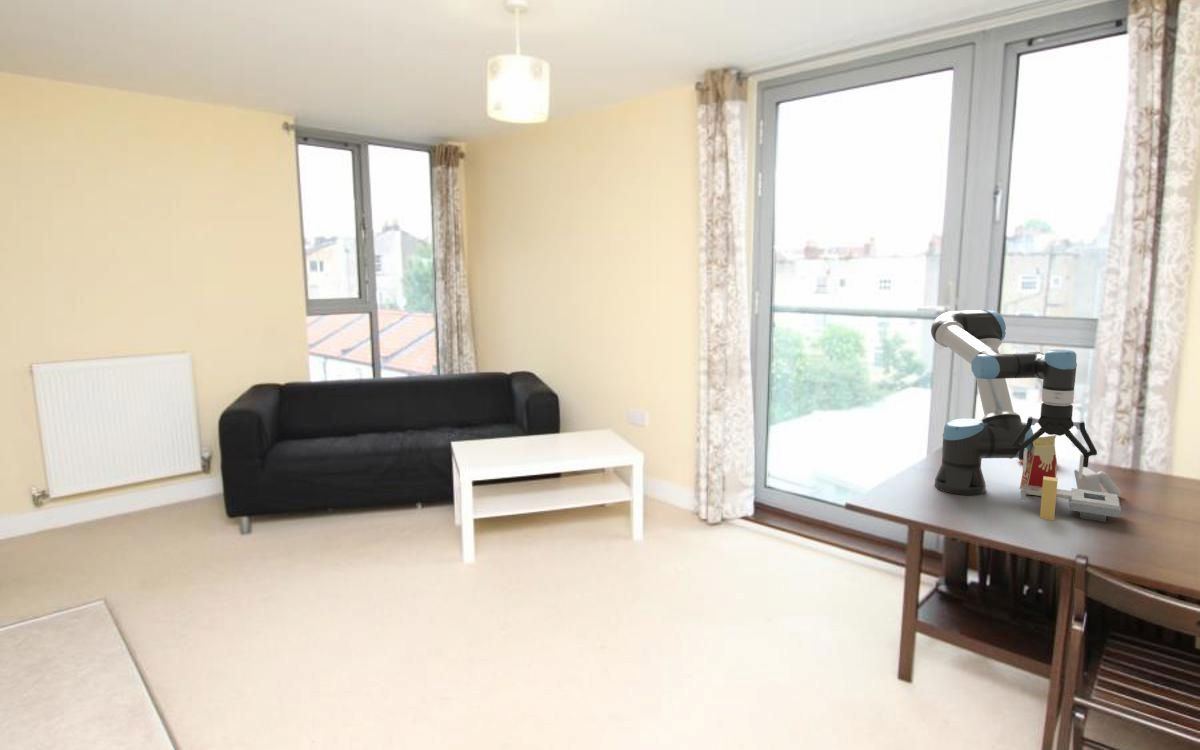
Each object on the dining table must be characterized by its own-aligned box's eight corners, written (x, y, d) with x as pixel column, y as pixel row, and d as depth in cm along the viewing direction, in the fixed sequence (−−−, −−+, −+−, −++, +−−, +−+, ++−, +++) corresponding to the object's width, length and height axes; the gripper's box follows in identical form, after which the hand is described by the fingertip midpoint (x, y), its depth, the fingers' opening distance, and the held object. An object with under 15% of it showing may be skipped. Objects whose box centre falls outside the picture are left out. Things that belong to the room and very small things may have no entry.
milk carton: (1048, 487, 216) (1060, 431, 211) (1054, 499, 208) (1066, 440, 203) (1016, 482, 220) (1027, 427, 214) (1020, 493, 212) (1032, 436, 206)
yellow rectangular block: (1039, 517, 194) (1043, 479, 192) (1040, 514, 197) (1043, 476, 195) (1054, 520, 192) (1057, 481, 190) (1054, 516, 195) (1057, 478, 193)
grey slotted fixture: (1019, 511, 199) (1020, 492, 198) (1021, 499, 209) (1023, 480, 208) (1119, 527, 185) (1121, 507, 184) (1117, 513, 195) (1119, 494, 194)
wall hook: (1128, 499, 204) (1123, 469, 203) (1092, 505, 206) (1086, 476, 205) (1114, 491, 211) (1108, 462, 210) (1079, 497, 214) (1073, 468, 213)
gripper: (1005, 401, 193) (1001, 470, 196) (1112, 409, 178) (1105, 484, 181) (1007, 397, 199) (1003, 464, 202) (1111, 404, 184) (1104, 476, 187)
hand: (1051, 473), depth 192 cm, fingers open, 13 cm apart
